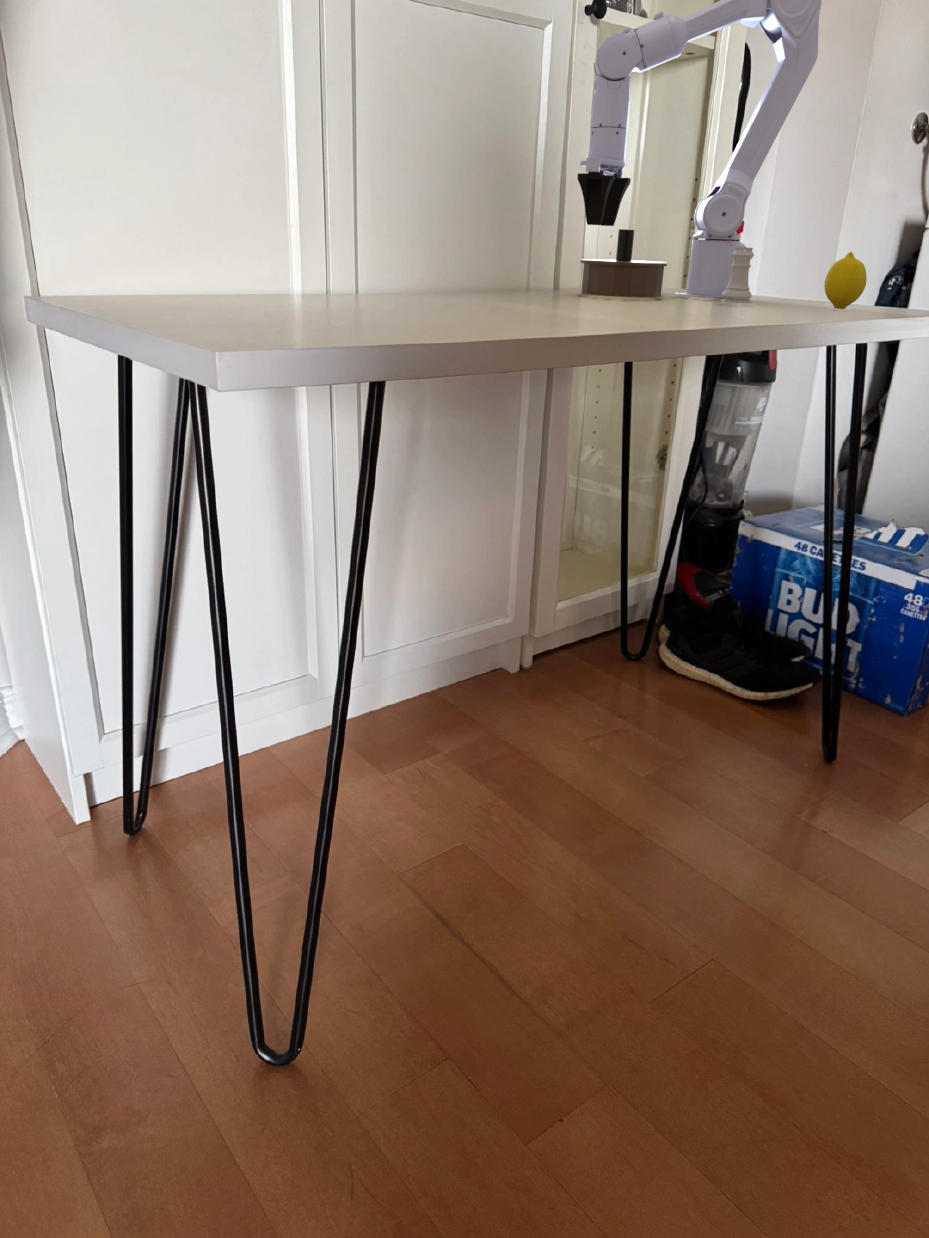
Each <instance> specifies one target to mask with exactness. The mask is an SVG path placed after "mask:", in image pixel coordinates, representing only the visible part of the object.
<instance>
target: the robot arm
mask: <svg viewBox="0 0 929 1238" xmlns="http://www.w3.org/2000/svg"><path fill="white" fill-rule="evenodd" d="M822 4H823V2H822V0H719V1H717V2H714V3H712V4H710V5H708V6H706V7H703V8H701V9H700V10H698V11H695V12H693V13H691V14H689V15H687V16H684V17H680V16H679V15H677V14H676V13H673V12H669V13H667V14H664V11H659V12H658V13H655V14H654V16H653V20H652V21H649V22H647V23H644V24H642V25H639V26H638V27H635V28H633V29H630V27H626V28H624V29H622V32H613V33H612V34H611V35H610V36H609V37H607V38H605V40H603V41H602V43H601V44H600V45H599V47H598V49H597V52H596V56H595V61H594V63H593V70H594V74H595V79H594V85H593V88H594V93H593V95H592V102H591V103H592V104H591V117H590V129H589V130H590V131H589V141H588V143H589V144H588V156H587V157H586V160H580V162H579V163H580V165H579V166H581V167H585V172H586V173H581V172H580V173H577V181H578V183H579V187H580V189H581V192H582V197H583V202H584V211H585V218H586V219H585V220H586V225H587V226H601V227H614V226H615V223H616V220H617V218H618V214H619V210H620V207H621V204H622V201H623V198H624V196H625V194H626V191H627V189H628V188H629V186H630V184H631V182H632V181H631V180H632V178H630V177H624V173H625V172H624V171H625V168H626V166H627V164H626V163H627V162H626V151H627V142H628V141H627V140H628V129H629V118H630V106H631V97H632V96H631V93H630V91H631V78H632V76H631V74H632V73H633V72H635V73H640V74H641V73H643V72H645V71H649V70H651V69H652V68H655V67H657V66H659V65H662V64H664V63H666V62H669V61H671V60H673V59H676V58H679V57H680V56H682V54H683V52H684V50H685V47H686V46H687V44H688V43H689V42H692V41H694V40H698V39H700V38H702V37H705V36H707V35H709V34H712V33H715V32H718V31H720V30H723V29H726V28H729V27H731V26H734V25H737V24H741V25H743V26H746V27H748V28H751V29H755V28H756V27H758V25H759V27H760V29H761V30H762V32H763V33H764V35H765V36H766V37H767V39H768V40H769V41H770V42H771V45H772V47H773V49H774V53H775V56H776V59H777V63H778V64H777V66H776V68H775V70H774V72H773V74H772V76H771V78H770V80H769V82H768V84H767V86H766V88H765V90H764V91H763V94H762V95H761V98H760V100H759V102H758V104H756V107H755V109H754V112H753V113H752V116H751V117H750V119H749V121H748V123H747V125H746V127H745V129H744V131H743V133H742V135H741V137H740V139H739V141H738V143H737V144H736V146H735V149H734V151H733V152H732V155H731V157H730V159H729V161H728V162H727V164H726V166H725V168H724V170H723V172H722V173H721V174H720V176H719V177H718V179H717V180H716V182H715V184H714V185H713V187H712V188H711V191H710V192H709V194H707V195H706V196H705V197H704V198H702V199H701V201H700V202H699V203H698V204H697V206H696V208H695V210H694V215H693V216H694V217H693V218H694V225H695V227H696V229H697V232H696V233H695V234H693V235H692V239H691V247H690V256H689V264H688V272H687V278H686V279H687V280H686V288H685V292H674V293H673V294H674V295H685V296H695V297H704V298H705V297H706V298H723V296H722V293H723V292H724V291H725V290H726V287H727V285H728V283H729V280H730V276H731V273H732V266H731V265H732V264H733V260H734V259H733V257H732V255H731V254H732V253H733V251H734V249H735V247H743V248H744V247H746V248H748V247H747V246H746V245H745V244H744V243H743V242H741V241H739V240H740V235H738V232H737V230H738V229H739V228H740V227H741V225H742V223H743V222H744V218H745V211H746V210H745V209H746V204H747V201H748V199H749V197H750V195H751V193H752V188H753V183H754V181H755V179H756V177H757V175H758V173H759V171H760V169H761V168H762V166H763V164H764V161H765V160H766V158H767V156H768V154H769V152H770V150H771V148H772V147H773V144H774V143H775V140H776V139H777V137H778V136H779V133H780V131H781V129H782V127H783V125H784V124H785V121H786V120H787V118H788V116H789V114H790V112H791V110H792V108H793V106H794V105H795V103H796V101H797V99H798V97H799V95H800V94H801V91H802V89H803V88H804V86H805V84H806V83H807V80H808V78H809V76H810V74H811V72H812V70H813V68H814V66H815V64H816V62H817V59H818V56H819V28H820V26H819V25H820V13H821V8H822Z"/></svg>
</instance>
